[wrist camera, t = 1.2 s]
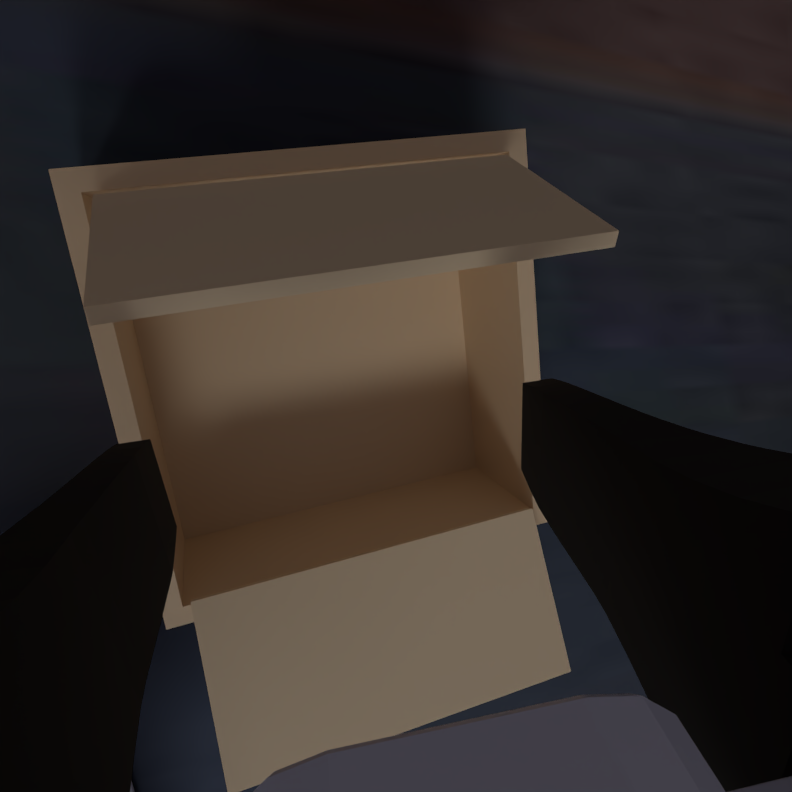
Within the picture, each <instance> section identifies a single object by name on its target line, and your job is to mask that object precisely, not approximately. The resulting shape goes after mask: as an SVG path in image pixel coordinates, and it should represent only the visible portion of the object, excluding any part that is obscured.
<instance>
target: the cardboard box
mask: <svg viewBox="0 0 792 792" xmlns="http://www.w3.org/2000/svg"><path fill="white" fill-rule="evenodd" d="M506 154H507V155H508V156H510V157H511V158H513V159H514V160H516V161H517V162H518V163H520V164H521V165H523V166H524V167H526V168H527V169H528V163H527V146H526V130H525V129H515V130H503V131H491V132H480V133H468V134H456V135H444V136H433V137H421V138H409V139H397V140H386V141H374V142H362V143H350V144H339V145H327V146H315V147H303V148H292V149H280V150H268V151H256V152H244V153H233V154H221V155H209V156H197V157H186V158H174V159H162V160H150V161H139V162H127V163H115V164H103V165H92V166H80V167H68V168H56V169H48V170H49V174H50V178H51V182H52V186H53V190H54V194H55V198H56V201H57V205H58V209H59V213H60V217H61V221H62V225H63V229H64V233H65V237H66V240H67V244H68V248H69V252H70V256H71V260H72V264H73V268H74V272H75V276H76V279H77V283H78V287H79V291H80V295H81V299H82V303H83V304H84V293H85V281H86V269H87V257H88V245H89V233H90V221H91V209H92V197H93V194H104V193H114V192H124V191H135V190H145V189H155V188H166V187H176V186H186V185H197V184H207V183H217V182H228V181H238V180H248V179H259V178H269V177H279V176H289V175H300V174H310V173H320V172H331V171H341V170H351V169H362V168H372V167H382V166H393V165H403V164H413V163H424V162H434V161H444V160H455V159H465V158H475V157H485V156H496V155H506ZM85 315H86V313H85ZM86 318H87V316H86ZM87 322H88V319H87ZM88 326H89V330H90V334H91V338H92V342H93V346H94V350H95V354H96V357H97V361H98V365H99V369H100V373H101V377H102V381H103V385H104V389H105V393H106V396H107V400H108V404H109V408H110V412H111V416H112V420H113V424H114V428H115V431H116V435H117V439H118V443H119V444H121V443H127V442H134V441H141V440H147V439H150V440H151V443H152V446H153V449H154V453H155V456H156V459H157V463H158V466H159V469H160V473H161V476H162V479H163V482H164V486H165V489H166V492H167V496H168V499H169V502H170V505H171V509H172V512H173V515H174V519H175V522H176V525H177V533H176V546H175V557H174V566H173V574H172V578H171V583H170V587H169V591H168V595H167V599H166V603H165V608H164V612H163V619H164V623H165V626H166V630H167V629H171V628H175V627H178V626H182V625H185V624H189V623H192V622H194V618H193V613H192V608H191V603H190V602H191V599H195V598H199V597H202V596H206V595H209V594H213V593H217V592H220V591H224V590H228V589H231V588H235V587H239V586H242V585H246V584H250V583H253V582H257V581H261V580H264V579H268V578H272V577H275V576H279V575H283V574H286V573H290V572H294V571H297V570H301V569H305V568H308V567H312V566H316V565H319V564H323V563H327V562H330V561H334V560H338V559H341V558H345V557H349V556H352V555H356V554H360V553H363V552H367V551H371V550H374V549H378V548H382V547H385V546H389V545H392V544H396V543H400V542H403V541H407V540H411V539H414V538H418V537H422V536H425V535H429V534H433V533H436V532H440V531H444V530H447V529H451V528H455V527H458V526H462V525H466V524H469V523H473V522H477V521H480V520H484V519H488V518H491V517H495V516H499V515H502V514H506V513H510V512H513V511H517V510H521V509H524V508H532V509H533V514H534V518H535V522H536V525H538V524H542V523H545V522H547V520H546V519H545V517H544V516H543V514H542V512H541V511H540V509H539V507H538V505H537V503H536V501H535V499H534V497H533V495H532V493H531V491H530V488H529V486H528V484H527V481H526V479H525V477H524V475H523V472H522V470H521V442H522V387H523V383H525V382H532V381H538V380H540V363H539V346H538V330H537V313H536V296H535V280H534V263H533V259H532V260H525V261H518V262H512V263H505V264H498V265H492V266H485V267H478V268H472V269H465V270H459V271H452V272H445V273H439V274H432V275H425V276H419V277H412V278H405V279H399V280H392V281H385V282H379V283H372V284H365V285H359V286H352V287H345V288H339V289H332V290H326V291H319V292H312V293H306V294H299V295H292V296H286V297H279V298H272V299H266V300H259V301H252V302H246V303H239V304H232V305H226V306H219V307H212V308H206V309H199V310H193V311H186V312H179V313H173V314H166V315H159V316H153V317H146V318H139V319H133V320H126V321H119V322H113V323H106V324H99V325H93V326H90V325H89V322H88Z"/></svg>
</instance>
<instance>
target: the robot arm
mask: <svg viewBox="0 0 792 792" xmlns="http://www.w3.org/2000/svg"><path fill="white" fill-rule="evenodd" d="M521 470H522V472H523V475H524V477H525V479H526V481H527V484H528V486H529V488H530V491H531V493H532V495H533V497H534V499H535V501H536V503H537V505H538V507H539V509H540V511H541V512H542V514H543V516H544V517H545V519H546V520H547V522H548V523H549V525H550V527H551V528H552V530H553V531H554V533H555V534H556V536H557V537H558V539H559V541H560V542H561V544H562V545H563V547H564V548H565V550H566V551H567V553H568V554H569V556H570V557H571V559H572V560H573V562H574V563H575V565H576V566H577V568H578V569H579V571H580V572H581V574H582V575H583V577H584V579H585V580H586V582H587V583H588V585H589V586H590V588H591V589H592V591H593V592H594V594H595V595H596V597H597V599H598V601H599V602H600V604H601V606H602V607H603V609H604V611H605V612H606V614H607V616H608V618H609V620H610V622H611V624H612V626H613V628H614V630H615V632H616V634H617V636H618V638H619V640H620V642H621V644H622V646H623V648H624V650H625V652H626V654H627V655H628V657H629V660H630V662H631V664H632V666H633V668H634V670H635V672H636V674H637V676H638V678H639V680H640V683H641V685H642V687H643V689H644V691H645V693H646V695H647V697H648V699H647V698H645V697H643V696H641V695H635V694H596V695H579V696H574V697H570V698H565V699H561V700H556V701H551V702H547V703H542V704H538V705H533V706H528V707H524V708H519V709H514V710H510V711H505V712H501V713H496V714H491V715H487V716H482V717H478V718H473V719H468V720H464V721H459V722H455V723H450V724H445V725H441V726H436V727H432V728H427V729H422V730H418V731H413V732H409V733H404V734H399V735H395V736H390V737H386V738H381V739H376V740H372V741H367V742H363V743H358V744H353V745H349V746H344V747H340V748H335V749H330V750H327V751H324V752H322V753H319V754H317V755H314V756H312V757H309V758H307V759H304V760H302V761H299V762H297V763H294V764H292V765H289V766H287V767H284V768H282V769H279V770H277V771H274V772H273V773H272V774H271V775H270V776H269V777H268V778H266V779H265V780H264V781H263V782H262V783H261V784H260V785H259V786H258V787H257V788H256V789H255V790H254V791H253V792H792V454H791V453H786V452H781V451H775V450H770V449H765V448H760V447H756V446H751V445H747V444H742V443H738V442H735V441H731V440H727V439H723V438H719V437H716V436H712V435H708V434H704V433H701V432H698V431H694V430H691V429H688V428H685V427H682V426H679V425H676V424H673V423H670V422H667V421H664V420H661V419H658V418H656V417H653V416H650V415H647V414H645V413H642V412H639V411H637V410H634V409H632V408H629V407H627V406H624V405H622V404H619V403H617V402H614V401H612V400H609V399H607V398H604V397H602V396H599V395H597V394H594V393H592V392H589V391H587V390H584V389H582V388H579V387H577V386H574V385H572V384H569V383H566V382H563V381H560V380H556V379H545V380H538V381H532V382H525V383H523V387H522V442H521ZM176 533H177V525H176V522H175V519H174V515H173V512H172V509H171V505H170V502H169V499H168V496H167V492H166V489H165V486H164V482H163V479H162V476H161V473H160V469H159V466H158V463H157V459H156V456H155V453H154V449H153V446H152V443H151V440H150V439H147V440H141V441H134V442H127V443H121V444H116V445H114V446H113V447H111V448H110V449H108V450H107V451H106V452H104V453H103V454H102V455H100V456H99V457H98V458H97V459H95V460H94V461H93V462H92V463H91V464H89V465H88V466H87V467H86V468H85V469H83V470H82V471H81V472H80V473H79V474H77V475H76V476H75V477H74V478H73V479H71V480H70V481H69V482H68V483H67V484H65V485H64V486H63V487H62V488H61V489H59V490H58V491H57V492H56V493H55V494H53V495H52V496H51V497H50V498H49V499H47V500H46V501H45V502H44V503H42V504H41V505H40V506H39V507H37V508H36V509H35V510H33V511H32V512H31V513H29V514H28V515H27V516H26V517H24V518H23V519H22V520H20V521H19V522H18V523H16V524H15V525H14V526H12V527H11V528H10V529H9V530H7V531H6V532H5V533H3V534H2V535H1V536H0V792H135V791H134V787H133V784H132V781H131V778H132V769H133V761H134V753H135V746H136V739H137V731H138V724H139V717H140V709H141V703H142V699H143V694H144V689H145V684H146V679H147V675H148V671H149V667H150V663H151V659H152V655H153V651H154V647H155V643H156V639H157V635H158V631H159V628H160V624H161V620H162V616H163V612H164V608H165V603H166V599H167V595H168V591H169V587H170V583H171V578H172V574H173V566H174V557H175V546H176Z"/></svg>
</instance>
